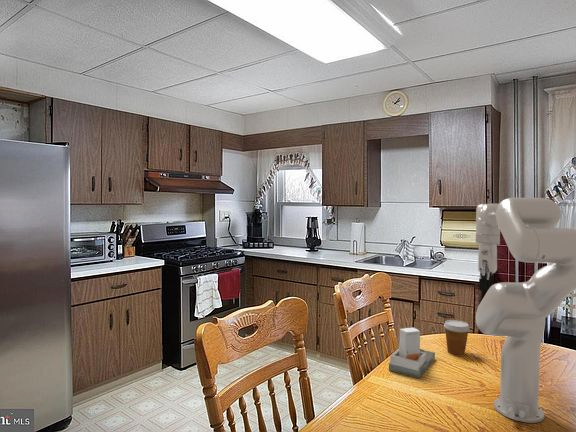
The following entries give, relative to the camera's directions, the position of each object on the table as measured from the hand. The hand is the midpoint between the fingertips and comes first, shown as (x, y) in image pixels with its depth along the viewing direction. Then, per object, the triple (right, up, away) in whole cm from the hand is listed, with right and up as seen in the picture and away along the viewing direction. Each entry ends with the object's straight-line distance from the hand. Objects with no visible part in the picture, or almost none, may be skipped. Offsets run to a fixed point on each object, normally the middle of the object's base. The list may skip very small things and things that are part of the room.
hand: (486, 288), depth 137 cm
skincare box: (-26, -28, +4) cm, 38 cm away
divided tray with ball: (-23, -30, +8) cm, 39 cm away
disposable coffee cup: (-2, -30, +20) cm, 36 cm away
